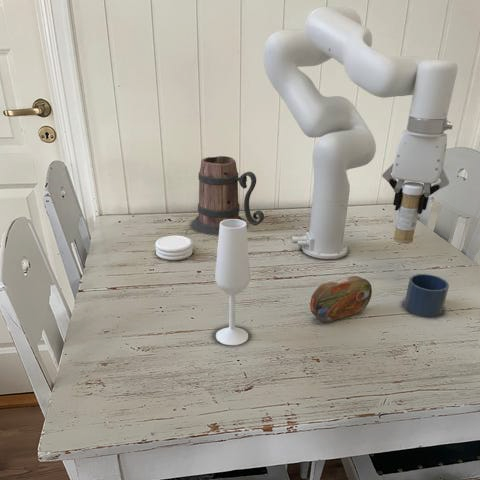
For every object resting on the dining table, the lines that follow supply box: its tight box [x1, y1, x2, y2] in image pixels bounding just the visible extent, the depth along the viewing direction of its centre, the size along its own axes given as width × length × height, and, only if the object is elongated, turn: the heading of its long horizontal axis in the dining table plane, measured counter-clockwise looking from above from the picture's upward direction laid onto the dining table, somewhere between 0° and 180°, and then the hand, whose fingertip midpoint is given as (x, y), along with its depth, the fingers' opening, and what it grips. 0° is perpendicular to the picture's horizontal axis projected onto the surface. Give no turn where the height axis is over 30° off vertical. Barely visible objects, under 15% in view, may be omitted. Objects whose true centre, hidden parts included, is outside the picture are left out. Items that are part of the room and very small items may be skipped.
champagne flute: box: [214, 219, 251, 346], centre depth 93 cm, size 7×7×24 cm
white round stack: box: [154, 235, 194, 261], centre depth 133 cm, size 10×10×4 cm
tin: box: [309, 275, 373, 323], centre depth 105 cm, size 15×3×8 cm, turn 117°
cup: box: [403, 273, 450, 318], centre depth 109 cm, size 8×8×6 cm
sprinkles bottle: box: [393, 181, 424, 245], centre depth 112 cm, size 5×5×13 cm
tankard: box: [191, 155, 265, 236], centre depth 147 cm, size 24×17×20 cm
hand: (408, 209), depth 112 cm, fingers closed on sprinkles bottle, 4 cm apart
